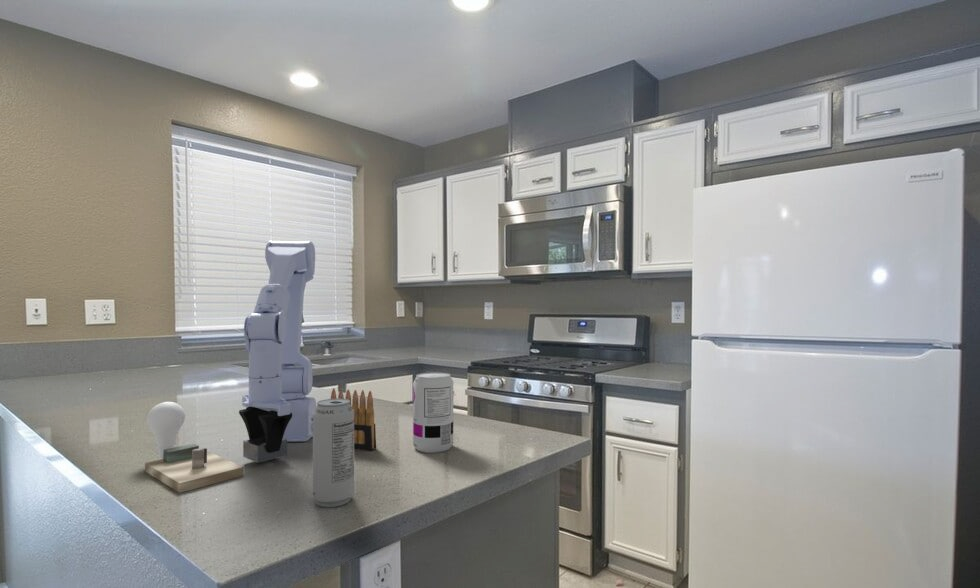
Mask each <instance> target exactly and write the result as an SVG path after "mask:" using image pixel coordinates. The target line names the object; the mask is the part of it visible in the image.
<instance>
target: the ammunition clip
mask: <svg viewBox="0 0 980 588" xmlns="http://www.w3.org/2000/svg"><path fill="white" fill-rule="evenodd" d="M372 393H373V392H372V390H369V392H368V394H367V399H366V394H365V390H364V389H362V390H361V393H360V396H358V392H357V390H356V389H355V390H354V391H353V393H352V396H351V391H350V389H347V390H346V393H345V396H344V392H343V389H342V388H340V389H339V392H338V395H337V392H336V389H335V388H332V390H331V393H330V399H348V400H350V405H351V407H352V408H353V410H354V450H358V451H366V452H371V451H374V450H376V449H377V437H376V436H377V435H376V423H375V409H374V399H373V394H372Z"/></svg>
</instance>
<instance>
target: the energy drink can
mask: <svg viewBox="0 0 980 588" xmlns="http://www.w3.org/2000/svg"><path fill="white" fill-rule="evenodd" d="M316 405H317V407H316V409H315V411H314V413H313V436H312V498H313V500H315V501H316V503H315V504H316V505H318V506H319V507H322V508H333V507H339V506H343V505H345V504H347V503H349V502H350V501H351V497H353V495H354V493H355V449H354V410H353V408H352V404H351V405H350V400H348V399H345V398H344V399H338V398H337V399H331V398H327V399H322V400H318V401H316Z"/></svg>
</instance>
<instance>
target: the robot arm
mask: <svg viewBox="0 0 980 588" xmlns="http://www.w3.org/2000/svg"><path fill="white" fill-rule="evenodd" d="M264 250H265V251H264V253H265V255H264V256H265V262H266V265H267V266H268V270H269V279H268V284H266V285H264V286H263V287H261V289H260V291H259V294H258V298H257V299H256V303H255V306H254V309H253V312H251V314H250V315H247V316H246V317H245V319H244V325H243V336H244V342H245V350H246V353H248V394H245V395H242V400H241V405H242V406H243V407H245V408H244V409H239V410H238V414H239V415H240V417H241V419H242V421H243V423H244V425H245V428H246V432H247V435H248V440H249V439H254V438H258V437H263V436H265V443H266V449H267V452H268V453H272V452H276V451H279V450H280V447H281V443H282V439H283V438H284V439H287V443H288V442H308V441H309V440H310V439H311V438H313V413H314V411H315V409H316V407H317V400H316V398H315V397H309V396H308V395H310V393H311V392H312V389H313V379H314V378H313V377H314V375H313V364H312V361H311V360H310V359H309V358H308V357H307V356H306V355H304V354H302V353H301V343H302V342H301V341H302V327H303V326H302V325H303V313H304V311H303V310H304V297H305V290H306V285H307V283H308V282H309V281H312V280H313V279H314V275H315V270H316V269H315V267H316V249H315V244H314V243H313V242H312V241H311V240H308V241H298V240H297V241H293V240H292V241H290V240H288V241H287V240H284V241H283V240H269V241H268V242H267V243H266V245H265V249H264Z"/></svg>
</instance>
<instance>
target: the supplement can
mask: <svg viewBox="0 0 980 588" xmlns="http://www.w3.org/2000/svg"><path fill="white" fill-rule="evenodd" d="M412 391H413V392H412V397H413V399H412V405H413V406H412V410H413V412H412V415H413V416H412V420H413V422H412V424H413V425H412V436H413V437H412V445H413V448H415V449H416V451H418V452H420V453H426V454H427V453H429V454H435V453H436V454H437V453H443V452H447V451H448V450H450V449H451V447H452V446H453V445H454V380H453V378H452V376H451V374H450V373H447V372H424V373H418V374H416V377H415V378H414V380H413V382H412Z"/></svg>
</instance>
